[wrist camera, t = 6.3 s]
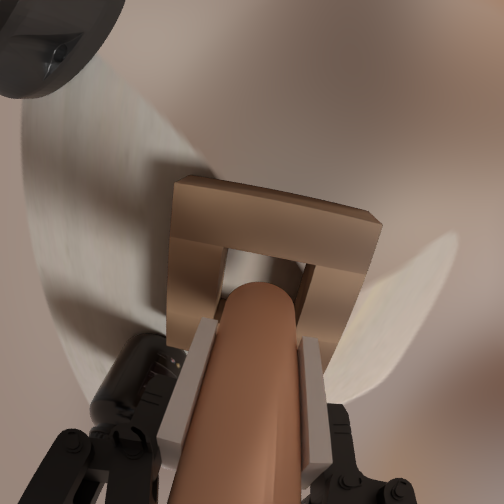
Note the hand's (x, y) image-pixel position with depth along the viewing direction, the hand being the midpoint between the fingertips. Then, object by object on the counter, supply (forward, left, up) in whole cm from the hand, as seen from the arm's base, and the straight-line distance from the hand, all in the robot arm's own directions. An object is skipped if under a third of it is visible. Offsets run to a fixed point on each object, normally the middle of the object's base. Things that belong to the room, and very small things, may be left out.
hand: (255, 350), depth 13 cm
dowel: (0, 0, -3) cm, 3 cm away
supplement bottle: (+11, -8, -8) cm, 16 cm away
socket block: (0, 0, -8) cm, 8 cm away
